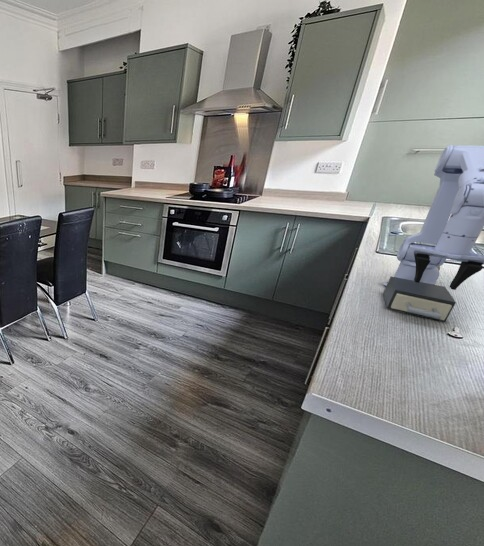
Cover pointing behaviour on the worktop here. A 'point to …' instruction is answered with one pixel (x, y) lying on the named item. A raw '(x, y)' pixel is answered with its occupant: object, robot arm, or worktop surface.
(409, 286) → the drawer box
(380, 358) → the worktop surface
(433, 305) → the cream drawer
